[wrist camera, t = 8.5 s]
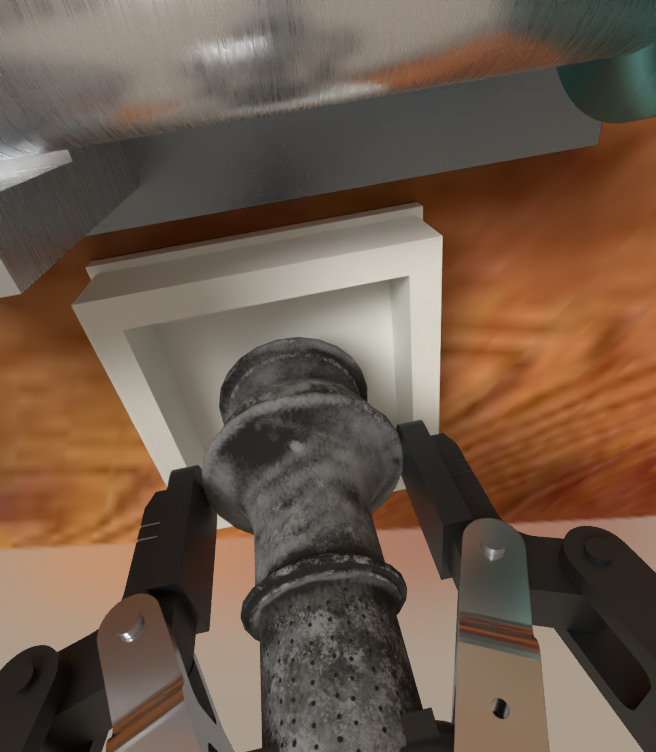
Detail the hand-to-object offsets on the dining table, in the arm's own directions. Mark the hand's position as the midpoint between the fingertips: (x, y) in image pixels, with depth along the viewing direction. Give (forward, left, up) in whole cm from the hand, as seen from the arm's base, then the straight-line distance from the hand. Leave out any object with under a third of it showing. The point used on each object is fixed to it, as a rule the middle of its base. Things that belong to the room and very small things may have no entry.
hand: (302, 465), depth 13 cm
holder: (0, 0, -6) cm, 6 cm away
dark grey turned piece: (0, 0, -3) cm, 3 cm away
